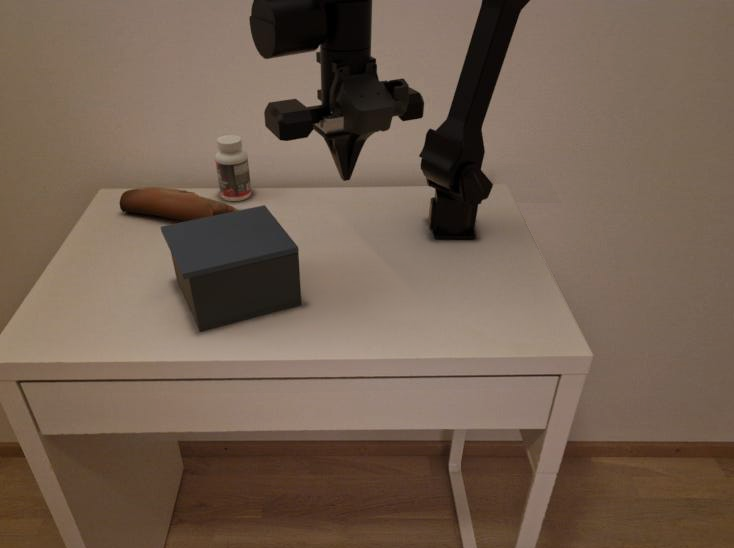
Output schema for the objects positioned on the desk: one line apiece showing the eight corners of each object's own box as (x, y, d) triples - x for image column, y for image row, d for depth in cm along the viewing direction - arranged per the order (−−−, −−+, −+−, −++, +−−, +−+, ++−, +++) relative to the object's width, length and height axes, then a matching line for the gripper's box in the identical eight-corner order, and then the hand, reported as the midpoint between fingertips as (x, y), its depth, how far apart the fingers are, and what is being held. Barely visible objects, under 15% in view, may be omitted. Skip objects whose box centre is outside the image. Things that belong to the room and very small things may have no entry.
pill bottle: (214, 196, 103) (205, 139, 96) (237, 186, 106) (230, 130, 100) (235, 205, 100) (227, 147, 94) (258, 194, 103) (252, 137, 97)
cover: (183, 279, 68) (182, 273, 67) (161, 232, 77) (160, 226, 76) (298, 252, 72) (298, 246, 72) (265, 210, 81) (264, 204, 81)
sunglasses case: (241, 207, 98) (227, 182, 92) (226, 243, 96) (210, 220, 90) (150, 191, 103) (130, 167, 97) (134, 226, 101) (112, 203, 95)
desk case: (199, 332, 73) (188, 278, 68) (177, 281, 82) (166, 231, 77) (301, 305, 77) (298, 253, 72) (269, 260, 86) (265, 210, 81)
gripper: (293, 73, 58) (301, 220, 68) (456, 52, 63) (440, 190, 73) (257, 48, 65) (268, 183, 75) (405, 31, 71) (397, 159, 81)
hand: (345, 179), depth 76 cm, fingers closed
